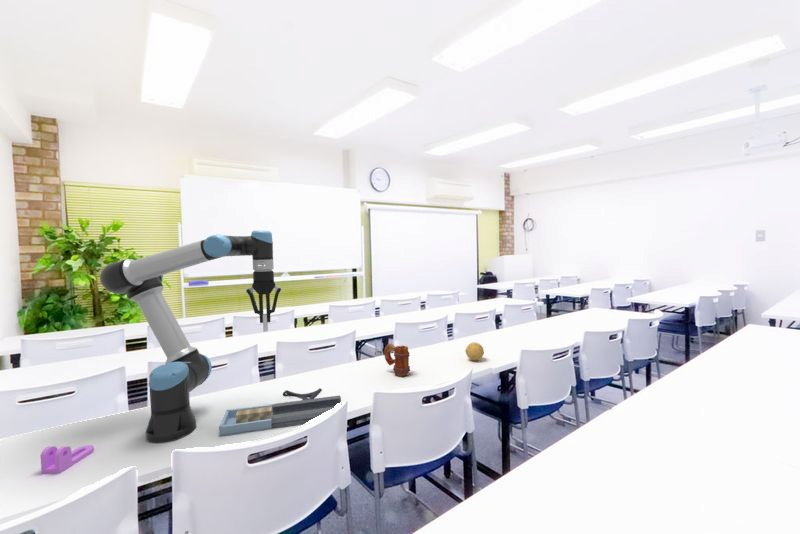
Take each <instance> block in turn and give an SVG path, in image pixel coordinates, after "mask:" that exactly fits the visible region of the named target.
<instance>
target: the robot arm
mask: <svg viewBox="0 0 800 534" xmlns="http://www.w3.org/2000/svg"><path fill="white" fill-rule="evenodd" d="M273 246H274V242H273V234H272V232H271V231H270V230H252V231H251V235H246V236H245V235H244V236H243V235H242V236H241V235H240V236H239V235H238V236H237V235H235V236H234V235H223V234H212V235H209V236H208V237H206V238H205V239H201V240H199V241H194V242H192V243H189V244H184V245H182V246H178V247H175V248H171V249H168V250H165V251H161V252H157V253H154V254H151V255H148V256H145V257H141V258H138V259H134V258H133V259H132V258H128V259H124V260H120V261H113V262H111V263H108V264H107V265H106V266H104V267H103V269H102V270H101V272H100V275H99V281H100V284H101V286H103V288H104V289H105V290H106V291H108V292H110V293H113V294H118V295H119V294H121V295H123V294H126V296H127V298H128V299H129V301H131V302H134V303H136V304H137V306H138V307H139V309H140V311H141V312H142V315H143V316H144V318H145V320H146V321H147V324H148V326H149V327H150V329H151V331H152V333H153V334H154V335H153V336H155V338H156V340H157V343H159V346H160V347H161V349H162V351H163V353H164V355H165V357H166V360H165V363H164V364H160V365H159V366H157V367H155V368H154V369H152V370H151V371H150V373H149V379H148V386H149V397H150V398H149V400H150V418H149V421H148V425H147V426H146V429H145V430H146V431H145V439H146V441H148V442H149V443H167V442H172V441H175V440H179V439H181V438H183V437H185V436H188V435H189V434H192V433H193V432H194V431H195V430H196V429H197V419H196V417H195V414H194V411H193V410H192V408H191V402H190V401H191V400H190V399H191V398H190V393H191V392H192V391H193V390H195V389H196V388H197V387H199V386H200V385H203V383H205V381H206V380H207V379H208V378H209V377H210V375H211V373H212V366H213V365H212V362H211V359H209V357H208V356H207V355H204V354H203V353H200V351H199V350H198V348H197V347H194V346H191V345H190V342H189V340H188V339H187V337H186V335H185V333H184V331H183V330H182V327H181V326H180V324H179V323H178V320H177V318H176V317H175V314H174V313H173V311H172V309H171V308H170V306H169V304H168V302H167V299H166V298H165V296H164V294H163V289H164V285H163V283H162V282H163V278H164V275H167V274H170V273H173V272H176V271H180V270H183V269H187V268H189V267H193V266H197V265H200V264H203V263H206V262H210V261H214V260H216V259H220V258H224V257H240V256H241V257H242V256H243V257H245V256H247V257H248V256H251V257H252V270H253V272H252V280H253V281H252V285H251V287H250V288H248V289H246V293H247V294H248V296H249V299H250V302H251V305H252V306H251V307H252V309H253V313H254V314H256V315H259V322H260V324H262V329H263V331H262V332H263V333H264V332H268V331H269V323H270V322H271V314H272V313H273V314H274V313H275V311H276V307H277V302H278V298H279V294H280V293H281V291H282V288H281V287H280V286H277V284H276V283H275V276H274V275H275V274H274V273H275V272H274V271H273V270H274V248H273ZM273 290H274V298H273V303H272V306H271V295H270V294H271V293H272V292H273ZM254 292H256V294H258V305H257V302H256V301H257V300H256V298H255V295H254ZM264 295H265V304H266V305H265V308H266V309H265V310H266V313H264Z"/></svg>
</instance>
